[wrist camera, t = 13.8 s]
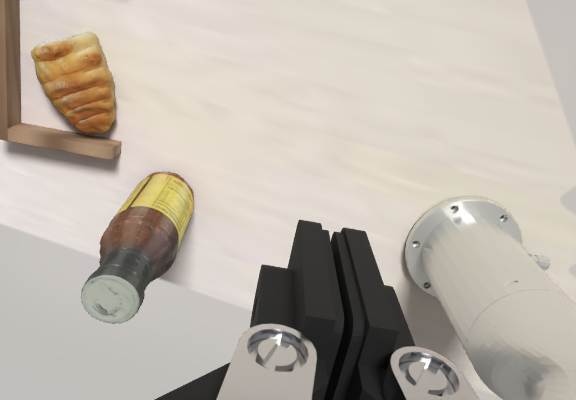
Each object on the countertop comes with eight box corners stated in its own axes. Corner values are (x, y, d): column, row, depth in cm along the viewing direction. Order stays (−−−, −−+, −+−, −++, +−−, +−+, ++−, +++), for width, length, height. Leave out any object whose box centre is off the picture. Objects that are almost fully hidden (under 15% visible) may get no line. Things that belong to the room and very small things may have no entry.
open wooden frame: (133, -44, 42) (125, -47, 40) (120, 152, 49) (112, 160, 47) (4, -72, 42) (-13, -77, 39) (9, 132, 48) (-5, 138, 46)
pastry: (136, 121, 48) (123, 130, 45) (74, 138, 49) (57, 149, 45) (97, 25, 45) (81, 27, 41) (32, 45, 46) (10, 49, 42)
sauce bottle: (150, 228, 53) (78, 349, 34) (129, 176, 50) (38, 276, 32) (207, 214, 52) (164, 329, 34) (188, 160, 50) (130, 253, 31)
